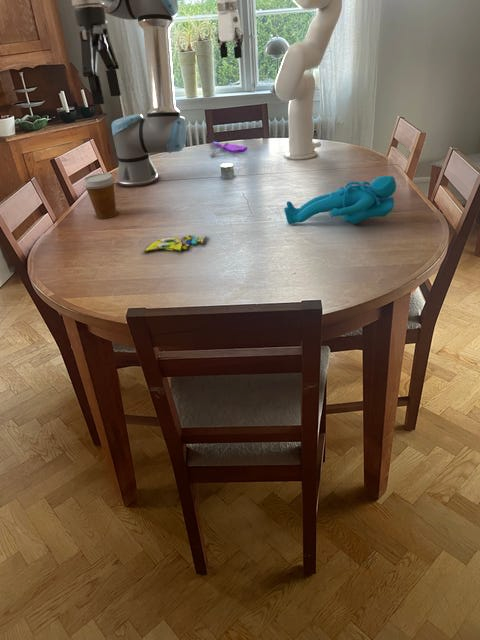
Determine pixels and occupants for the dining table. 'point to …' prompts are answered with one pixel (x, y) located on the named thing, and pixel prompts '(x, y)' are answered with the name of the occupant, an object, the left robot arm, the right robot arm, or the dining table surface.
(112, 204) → the disposable coffee cup
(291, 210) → the toy
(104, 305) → the dining table surface
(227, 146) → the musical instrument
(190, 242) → the toy
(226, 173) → the canister
